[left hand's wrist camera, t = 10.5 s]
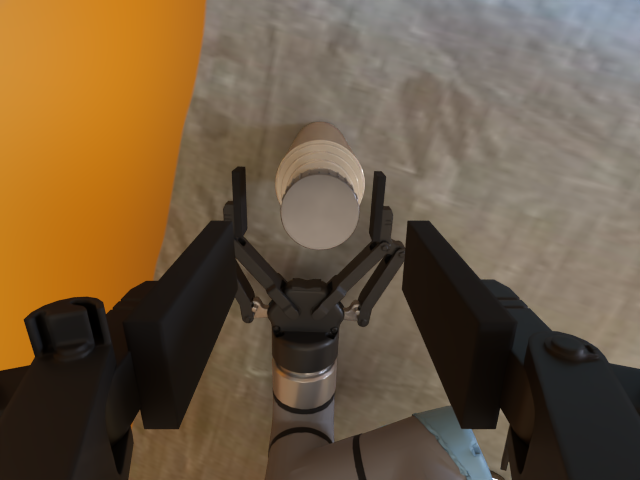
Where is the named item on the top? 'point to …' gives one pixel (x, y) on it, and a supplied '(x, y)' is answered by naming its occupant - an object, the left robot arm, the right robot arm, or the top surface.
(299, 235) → the cap
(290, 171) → the bottle
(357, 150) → the top surface
